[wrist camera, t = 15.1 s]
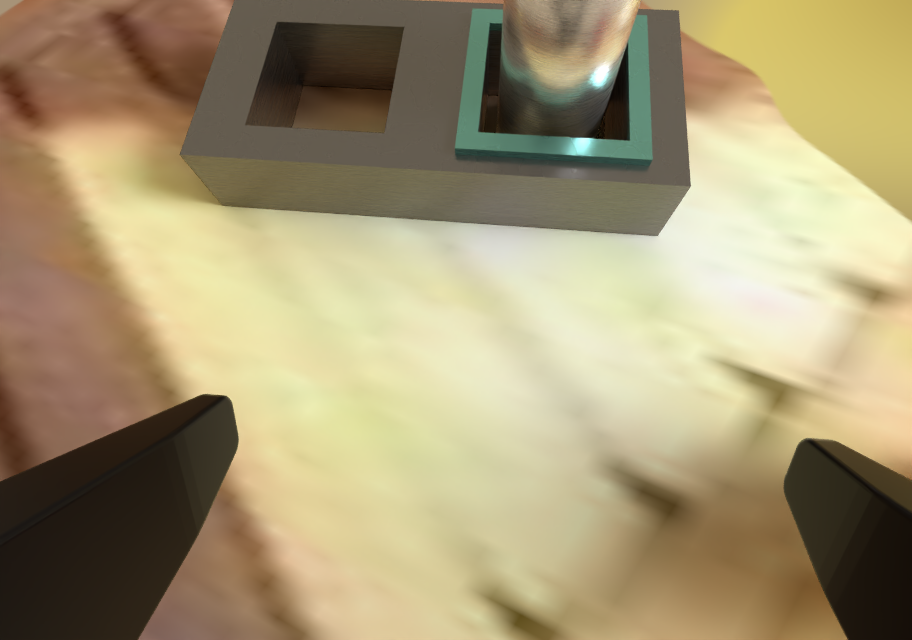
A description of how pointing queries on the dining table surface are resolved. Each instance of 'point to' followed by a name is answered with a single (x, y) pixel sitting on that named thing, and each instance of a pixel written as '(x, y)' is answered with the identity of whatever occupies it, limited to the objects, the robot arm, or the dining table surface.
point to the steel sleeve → (560, 64)
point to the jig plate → (431, 121)
